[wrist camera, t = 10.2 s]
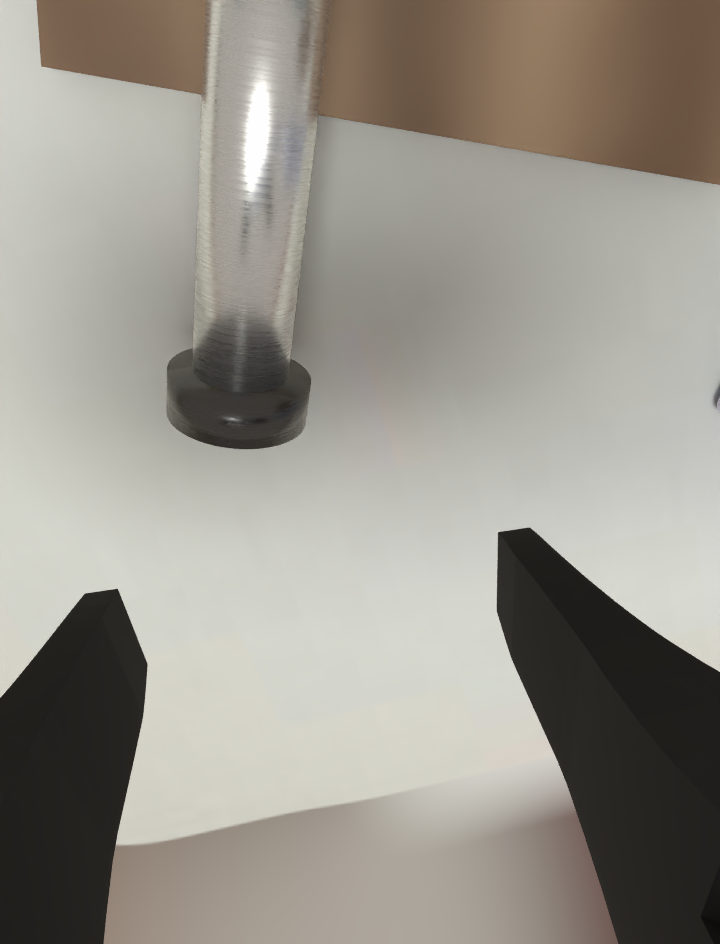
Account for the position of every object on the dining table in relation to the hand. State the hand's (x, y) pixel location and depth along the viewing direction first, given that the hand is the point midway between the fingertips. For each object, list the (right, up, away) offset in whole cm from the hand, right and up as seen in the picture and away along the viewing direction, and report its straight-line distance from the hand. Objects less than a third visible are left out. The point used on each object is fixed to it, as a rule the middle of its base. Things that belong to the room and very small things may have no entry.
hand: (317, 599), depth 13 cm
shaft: (-2, +10, +3) cm, 11 cm away
